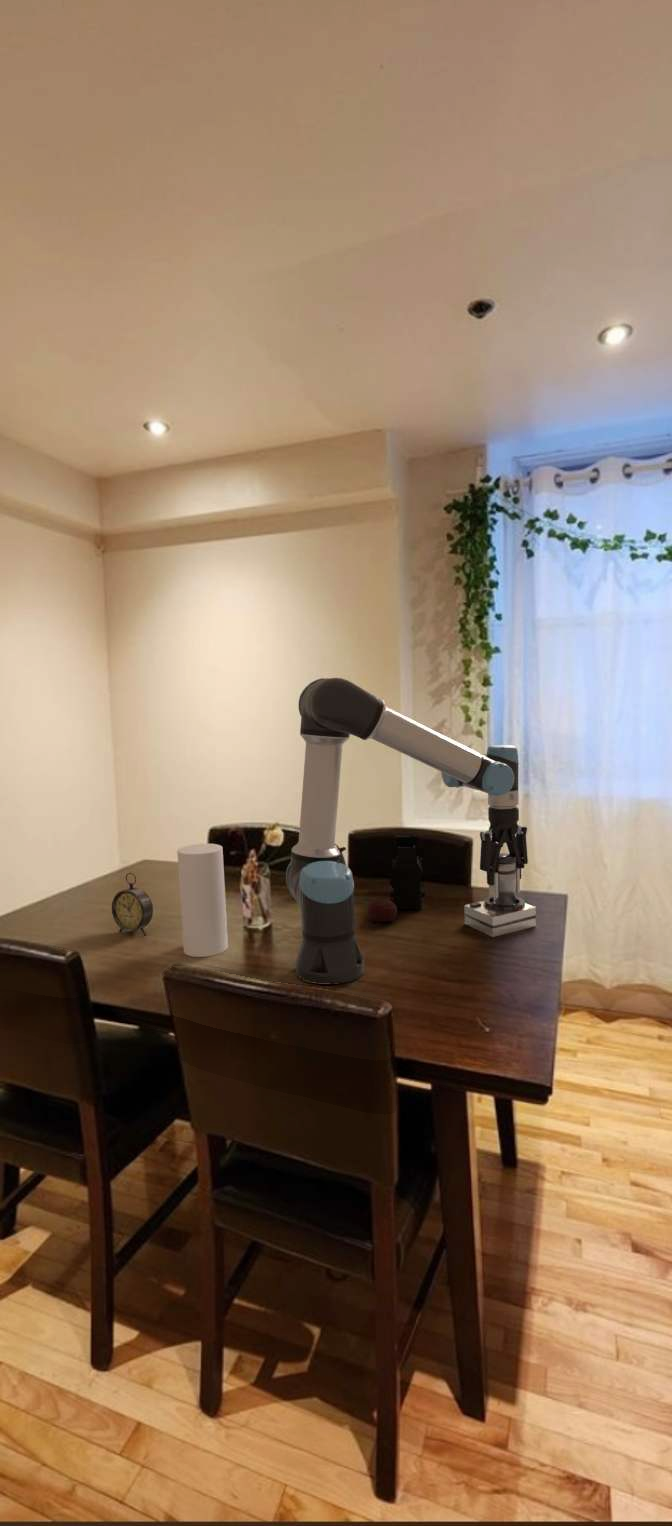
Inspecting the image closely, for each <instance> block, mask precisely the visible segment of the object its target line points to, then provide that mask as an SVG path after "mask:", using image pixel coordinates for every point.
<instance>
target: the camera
mask: <svg viewBox="0 0 672 1526" xmlns="http://www.w3.org/2000/svg"><path fill="white" fill-rule="evenodd" d="M418 838H419V837H418V835H413V834H412V835H410V834H409V835H394V855H395V856H394V858H392V857H391V858H390V859H391V860H390V861H392V862H391V865H392V866H391V869H392V872H391V873H390V878H389V885H390V886H391V889H392V891H390V899H393V903H394V904H395V905H396V907H397V910H422V899H425V897H426V895H425V891H424V890H423V886H424V883H423V882H422V876H423V866H421V865H422V864H423V862H422V861H423V858H420V856H419V849H418V848H419V845H418V844H419V840H418Z"/></svg>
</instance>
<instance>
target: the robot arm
mask: <svg viewBox="0 0 672 1526" xmlns="http://www.w3.org/2000/svg"><path fill="white" fill-rule="evenodd" d="M297 707H298V711H299V716H300V717H301V718H300V729H299V736H301V738H302V739H303V740H304V742H305V748H304V749H305V752H304V764H303V766H304V767H303V776H302V777H303V779H302V790H301V791H302V792H301V803H300V804H301V805H300V807H301V808H300V818H299V819H300V820H299V830H298V831H299V832H298V833H299V834H298V842H297V843H296V844H295V845H293V847H292V848H291V853H290V862H289V864H288V866H287V868H286V873H285V881H286V883H285V884H286V886H287V888H288V891H289V893H290V895H291V896H292V897H293V898H294V899H295V902H296V903H297V904H298V905H299V907H300V911H301V912H300V913H301V933H302V934H301V938H302V939H301V943H300V946H299V949H298V952H297V957H296V961H295V974H296V973H297V974H298V976H300V977H301V978H302V979H304V980H307V981H310V982H316V983H330V984H335V983H343V984H345V983H344V982H347V983H350V982H352V981H355V980H357V979H359V978H360V977H361V976H362V975H363V974H364V972H365V959H364V957H363V955H362V952H361V949H360V946H359V944H358V940H357V938H356V930H355V929H356V927H355V922H356V921H355V898H354V897H355V896H354V895H355V893H354V890H355V882H354V878H353V872H352V870H351V869H350V868H349V866H346V865H347V864H346V865H344V864H342V863H339V862H340V851H339V850H338V849H337V848H336V846H335V844H336V843H335V842H336V830H337V817H338V806H339V805H338V804H339V794H340V793H339V791H340V777H341V769H342V768H341V766H342V753H343V752H342V751H343V745H344V744H345V743H346V742H347V741H348V740H349V739H350V736H351V735H352V736H355V737H357V738H358V739H361V740H363V741H367V740H369V739H371V740H374V741H376V742H378V743H379V744H382V745H384V746H386V747H388V748H391V749H392V750H395V751H397V752H399V753H401V754H403V755H405V756H408V757H409V758H412V759H413V760H416V761H418V762H420V763H421V764H425V765H426V766H429V767H431V768H433V769H435V770H437V771H438V772H440V773H441V778H442V781H443V783H444V784H445V786H447V787H448V788H457V789H458V788H462V787H465V788H467V789H471V790H475V791H479V792H482V793H486V794H487V805H488V806H489V807H488V809H487V810H488V811H487V813H488V814H487V815H488V818H487V819H488V822H489V828H488V830H487V831H480V833H479V837H480V841H481V842H480V859H479V860H480V861H479V869H480V870H481V871H483V872H485V873H486V883H487V885H488V896H491V897H493V898H498V873H496V872H495V871H496V867H497V863H498V859H499V854H500V853H501V850H502V848H503V847H504V845H505V844H506V847H507V850H508V852H509V853H508V854H512V855H515V856H516V895H517V894H518V895H519V894H520V893H521V883H520V882H521V879H522V869H524V868H525V867H526V866H525V865H527V864H528V863H529V858H528V847H527V846H528V845H527V833H528V827H526V826H523V825H519V824H518V822H519V821H520V818H519V817H520V816H519V815H520V812H519V811H520V810H519V809H520V808H519V807H518V805H520V803H519V801H520V800H519V797H520V796H519V764H520V762H519V754H518V748H517V747H516V746H515V745H513V744H512V745H511V744H496V745H490V746H488V747H487V749H486V753H485V754H481V753H479V752H477V751H475V750H474V749H472V748H469V747H468V746H466V745H463V744H462V743H459V742H457V741H455V740H453V739H451V738H449V737H448V736H445V735H443V734H441V733H439V732H437V731H435V730H433V729H432V728H429V727H427V726H425V725H424V724H421V723H419V722H417V721H415V720H413V719H411V718H408V717H407V716H404V715H403V714H401V713H400V712H397V711H395V710H393V709H391V708H389V707H387V705H386V703H385V700H384V699H382V698H380V697H377V696H375V695H374V694H372V693H371V692H368V691H367V690H365V689H363V688H362V687H361V686H358V685H357V684H355V683H354V682H352V681H350V680H349V679H348V680H347V679H344V678H340V677H329V678H328V677H327V678H323V677H322V678H318V679H315V680H313V681H311V682H310V683H308V685H306V686H305V687H304V688H303V690H302V691H301V693H300V695H299V698H298V706H297ZM298 976H297V977H298ZM349 981H350V982H349Z"/></svg>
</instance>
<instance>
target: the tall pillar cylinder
mask: <svg viewBox="0 0 672 1526" xmlns="http://www.w3.org/2000/svg"><path fill="white" fill-rule="evenodd" d="M223 849H224V848H223V846H222V845H220V844H216V843H194V844H189V845H185V846H182V847H179V848H178V849H177V851H176V853H177V867H178V880H179V881H178V882H179V897H180V913H181V914H180V915H181V929H182V930H181V931H182V945H183V953H184V954H185V955H187V956H189V957H193V958H194V957H196V958H206V957H207V958H208V957H213V956H217V955H219V954H221V953H223V952H225V951H226V950H227V949H228V947H229V939H228V926H227V925H228V924H227V923H228V922H227V921H228V920H227V906H226V905H227V904H226V903H227V902H226V886H225V883H226V882H225V870H224V868H225V867H224V853H223V852H224V851H223Z"/></svg>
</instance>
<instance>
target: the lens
mask: <svg viewBox="0 0 672 1526" xmlns="http://www.w3.org/2000/svg"><path fill="white" fill-rule="evenodd" d="M495 872H496V873H498V898H493V897H492V902H493V903H494V904H497V905H514V904H516V896H517V893H516V856H515V855H512V854H509V853H505V852H502V853H501V852H500V854H499V859H498V863H497V867H496V871H495Z"/></svg>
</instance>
